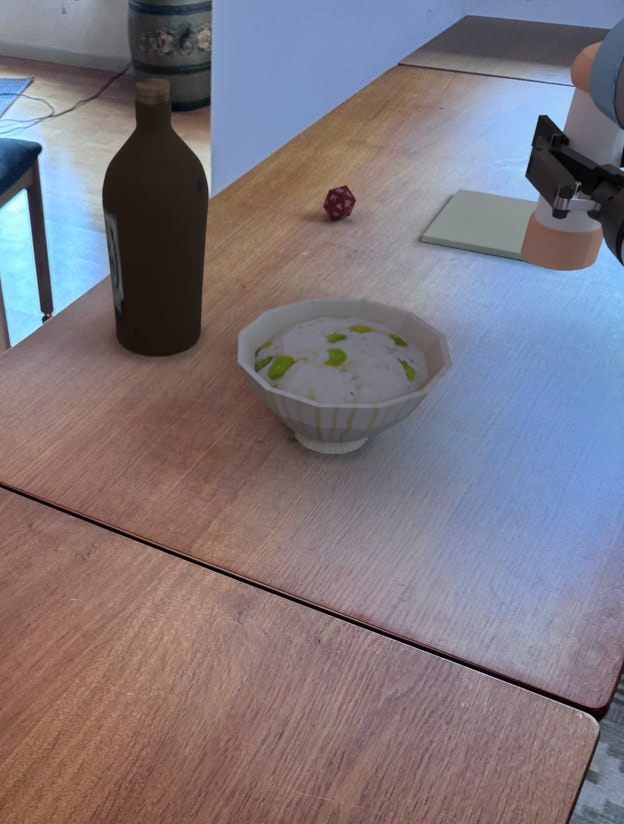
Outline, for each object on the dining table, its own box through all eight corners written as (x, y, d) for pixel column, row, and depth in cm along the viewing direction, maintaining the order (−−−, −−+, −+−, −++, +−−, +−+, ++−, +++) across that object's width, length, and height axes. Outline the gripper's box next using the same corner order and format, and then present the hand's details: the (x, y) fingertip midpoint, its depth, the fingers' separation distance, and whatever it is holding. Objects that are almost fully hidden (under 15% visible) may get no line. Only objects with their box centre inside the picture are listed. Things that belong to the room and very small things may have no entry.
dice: (315, 219, 120) (318, 188, 117) (337, 209, 122) (341, 178, 119) (337, 228, 118) (341, 196, 115) (359, 217, 120) (364, 186, 117)
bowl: (189, 429, 89) (190, 335, 82) (324, 358, 97) (335, 266, 90) (339, 524, 79) (354, 426, 71) (475, 435, 87) (502, 339, 79)
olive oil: (203, 310, 105) (207, 62, 86) (208, 358, 98) (213, 100, 79) (112, 313, 105) (96, 67, 87) (110, 361, 98) (92, 104, 79)
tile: (579, 215, 119) (581, 208, 118) (551, 265, 109) (553, 259, 109) (457, 194, 124) (459, 188, 124) (421, 241, 115) (422, 235, 114)
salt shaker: (510, 261, 91) (568, 39, 77) (533, 233, 95) (592, 18, 81) (584, 277, 88) (659, 50, 74) (605, 248, 92) (679, 27, 78)
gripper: (538, 283, 75) (466, 174, 91) (764, 272, 75) (653, 165, 90) (565, 188, 70) (484, 90, 85) (809, 177, 69) (683, 80, 85)
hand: (571, 128), depth 88 cm, fingers closed on salt shaker, 5 cm apart
